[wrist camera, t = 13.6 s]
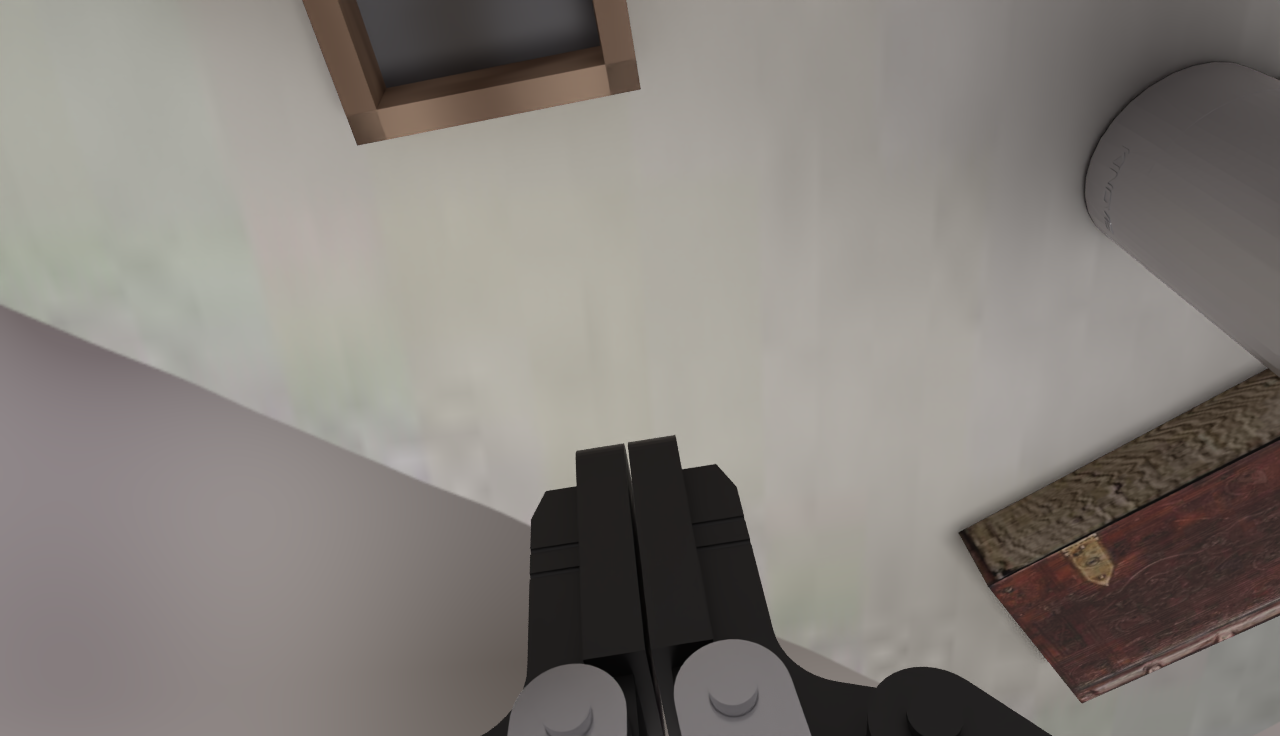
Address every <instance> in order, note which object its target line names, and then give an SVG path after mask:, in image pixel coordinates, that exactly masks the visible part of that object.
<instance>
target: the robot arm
mask: <svg viewBox="0 0 1280 736" xmlns="http://www.w3.org/2000/svg"><path fill="white" fill-rule="evenodd" d="M1085 199H1086V204H1087V208H1088V212H1089V214H1090V216H1091V218H1092V220H1093V222H1094V224H1095V225H1096V226H1097V227H1098V228H1099V229H1100V230H1101V231H1102V232H1103V233H1104V234H1105V235H1106V236H1108V237H1109V238H1110V239H1111V240H1113V241H1114V242H1115V243H1116V244H1117V245H1119V246H1120V247H1121V248H1122V249H1124V250H1125V251H1126V252H1127V253H1128V254H1130V255H1131V256H1132V257H1133V258H1135V259H1136V260H1137V261H1138V262H1139V263H1141V264H1142V265H1143V266H1144V267H1145V268H1146V269H1148V270H1149V271H1150V272H1151V273H1152V274H1154V275H1155V276H1156V277H1157V278H1158V279H1160V280H1161V281H1162V282H1163V283H1165V284H1166V285H1167V286H1168V287H1169V288H1171V289H1172V290H1173V291H1174V292H1176V293H1177V294H1178V295H1179V296H1181V297H1182V298H1183V299H1184V300H1185V301H1187V302H1188V303H1189V304H1190V305H1192V306H1193V307H1194V308H1195V309H1196V310H1198V311H1199V312H1200V313H1201V314H1203V315H1204V316H1205V317H1206V318H1207V319H1209V320H1210V321H1211V322H1212V323H1214V324H1215V325H1216V326H1217V327H1219V328H1220V329H1221V330H1222V331H1223V332H1225V333H1226V334H1227V335H1228V336H1230V337H1231V338H1232V339H1233V340H1234V341H1236V342H1237V343H1238V344H1239V345H1241V346H1242V347H1243V348H1244V349H1245V350H1247V351H1248V352H1249V353H1250V354H1252V355H1253V356H1254V357H1255V358H1257V359H1258V360H1259V361H1260V362H1261V363H1263V364H1264V365H1265V366H1266V367H1268V368H1269V369H1270V370H1271V371H1272V372H1274V373H1275V374H1276V375H1277V376H1279V377H1280V80H1278V79H1275V78H1273V77H1271V76H1268V75H1266V74H1263V73H1261V72H1259V71H1256V70H1254V69H1252V68H1249V67H1246V66H1242V65H1239V64H1236V63H1227V62H1212V63H1206V64H1201V65H1195V66H1191V67H1189V68H1186V69H1184V70H1181V71H1178V72H1176V73H1173V74H1171V75H1169V76H1167V77H1166V78H1164V79H1162V80H1160V81H1159V82H1157V83H1155V84H1154V85H1152V86H1150V87H1149V88H1148V89H1146V90H1145V91H1144V92H1143V93H1141V94H1140V95H1139V96H1138V97H1136V98H1135V99H1134V100H1133V101H1131V102H1130V103H1129V104H1128V105H1127V106H1126V107H1125V109H1124V110H1123V111H1122V112H1121V113H1120V114H1119V115H1118V116H1117V117H1116V118H1115V119H1114V120H1113V122H1112V123H1111V125H1110V126H1109V128H1108V129H1107V131H1106V132H1105V133H1104V135H1103V136H1102V138H1101V139H1100V141H1099V143H1098V145H1097V148H1096V150H1095V152H1094V154H1093V156H1092V158H1091V161H1090V165H1089V168H1088V172H1087V176H1086V185H1085ZM628 450H629V459H630V468H631V475H630V470H629V465H628V459H627V454H626V449H625V445H624V443H623V444H617V445H611V446H604V447H598V448H592V449H586V450H579V451H576V481H577V486H576V487H569V488H563V489H557V490H550V491H546V492H545V494H544V496H543V498H542V500H541V502H540V503H539V505H538V507H537V509H536V511H535V513H534V515H533V517H532V519H531V547H530V549H531V555H530V578H531V580H530V585H529V626H528V627H529V628H528V665H527V677H526V682H525V685H524V688H523V691H522V692H521V693H520V695H519V696H518V698H517V700H516V702H515V703H514V706H513V709H512V710H511V711H510V712H509V714H508V715H507V716H506V717H505V718H504V719H503V720H502V721H501V722H500V723H499V724H498V725H497V726H495V727H494V728H492V729H491V730H490V731H489V732H487V733H485V734H483V735H482V736H665V727H664V719H663V711H662V705H663V710H664V714H665V719H666V724H667V729H668V734H669V736H1052V735H1050V734H1049V733H1047V732H1046V731H1044V730H1042V729H1041V728H1039V727H1038V726H1036V725H1035V724H1033V723H1032V722H1030V721H1029V720H1027V719H1026V718H1024V717H1023V716H1021V715H1019V714H1018V713H1016V712H1015V711H1013V710H1012V709H1010V708H1009V707H1007V706H1006V705H1004V704H1003V703H1001V702H999V701H998V700H996V699H995V698H993V697H992V696H990V695H989V694H987V693H986V692H984V691H983V690H981V689H979V688H978V687H976V686H975V685H973V684H972V683H970V682H969V681H967V680H965V679H964V678H962V677H960V676H958V675H956V674H954V673H951V672H948V671H946V670H942V669H938V668H931V667H913V668H908V669H903V670H901V671H898V672H895V673H893V674H892V675H890V676H888V677H887V678H885V679H884V680H883V681H882V682H881V683H880V684H879V685H878V686H877V688H874V687H868V686H862V685H855V684H849V683H842V682H836V681H832V680H827V679H824V678H821V677H818V676H816V675H813V674H812V673H809V672H807V671H806V670H804V669H803V668H801V667H800V666H799V665H797V664H796V663H795V662H793V661H792V660H791V659H790V658H789V657H788V656H787V655H786V653H785V652H784V651H783V650H782V648H781V647H780V645H779V643H778V641H777V639H776V637H775V634H774V631H773V627H772V624H771V620H770V616H769V612H768V608H767V604H766V600H765V596H764V592H763V588H762V584H761V580H760V577H759V573H758V569H757V565H756V561H755V557H754V553H753V549H752V545H751V543H750V537H749V534H748V530H747V526H746V522H745V520H744V514H743V510H742V506H741V502H740V498H739V494H738V491H737V487H736V486H735V485H734V483H733V482H732V481H731V480H730V479H729V478H728V477H727V476H726V475H725V473H724V472H723V471H722V470H721V469H720V468H719V467H718V466H717V465H716V464H714V465H707V466H701V467H695V468H688V469H682V468H681V463H680V457H679V452H678V446H677V441H676V436H675V435H673V436H666V437H660V438H654V439H647V440H641V441H635V442H628ZM631 477H632V480H631ZM661 700H662V702H661Z"/></svg>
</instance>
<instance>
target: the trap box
mask: <svg viewBox="0 0 1280 736" xmlns="http://www.w3.org/2000/svg"><path fill="white" fill-rule="evenodd" d="M302 1H303V3H304V6H305V9H306V11H307V14H308V16H309V19H310V22H311V24H312V27H313V30H314V32H315V35H316V38H317V40H318V43H319V45H320V48H321V51H322V53H323V56H324V59H325V61H326V64H327V67H328V69H329V72H330V75H331V77H332V80H333V82H334V85H335V88H336V90H337V93H338V96H339V98H340V101H341V104H342V106H343V109H344V112H345V114H346V117H347V119H348V122H349V125H350V127H351V130H352V133H353V135H354V138H355V141H356V143H357V145H362V144H367V143H372V142H377V141H382V140H387V139H392V138H397V137H402V136H407V135H412V134H417V133H422V132H428V131H433V130H438V129H443V128H448V127H453V126H458V125H463V124H468V123H473V122H478V121H483V120H488V119H493V118H498V117H503V116H508V115H513V114H518V113H523V112H528V111H533V110H538V109H544V108H549V107H554V106H559V105H564V104H569V103H574V102H579V101H584V100H589V99H594V98H599V97H604V96H609V95H614V94H619V93H624V92H629V91H634V90H639V89H641V88H640V82H639V76H638V70H637V64H636V58H635V51H634V45H633V39H632V33H631V27H630V21H629V15H628V8H627V2H626V0H302Z"/></svg>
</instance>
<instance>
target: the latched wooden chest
mask: <svg viewBox="0 0 1280 736" xmlns="http://www.w3.org/2000/svg"><path fill="white" fill-rule="evenodd" d="M959 534H960V536H961V538H962V540H963V542H964V543H965V545H966V547H967V549H968V551H969V552H970V554H971V556H972V558H973V560H974V562H975V563H976V565H977V567H978V569H979V571H980V572H981V574H982V576H983V578H984V580H985V581H986V583H987V585H988V587H989V588H990V589H991V591H992V592H993V593H994V594H995V596H996V597H997V598H998V599H999V601H1000V602H1001V603H1002V604H1003V606H1004V607H1005V608H1006V609H1007V611H1008V612H1009V613H1010V614H1011V616H1012V617H1013V618H1014V619H1015V621H1016V622H1017V623H1018V624H1019V626H1020V627H1021V628H1022V629H1023V631H1024V632H1025V633H1026V634H1027V636H1028V637H1029V638H1030V639H1031V641H1032V642H1033V643H1034V644H1035V646H1036V647H1037V648H1038V649H1039V651H1040V652H1041V653H1042V654H1043V656H1044V657H1045V658H1046V659H1047V661H1048V662H1049V663H1050V664H1051V666H1052V667H1053V668H1054V669H1055V671H1056V672H1057V673H1058V674H1059V676H1060V677H1061V678H1062V679H1063V681H1064V682H1065V683H1066V684H1067V686H1068V687H1069V688H1070V689H1071V691H1072V692H1073V693H1074V694H1075V696H1076V697H1077V698H1078V699H1079V701H1080V702H1081V703H1084V702H1086V701H1088V700H1091V699H1093V698H1095V697H1097V696H1100V695H1102V694H1104V693H1106V692H1109V691H1111V690H1113V689H1115V688H1118V687H1120V686H1122V685H1124V684H1127V683H1129V682H1131V681H1133V680H1136V679H1138V678H1140V677H1142V676H1145V675H1147V674H1149V673H1151V672H1154V671H1156V670H1158V669H1161V668H1163V667H1165V666H1167V665H1170V664H1172V663H1174V662H1176V661H1179V660H1181V659H1183V658H1185V657H1188V656H1190V655H1192V654H1194V653H1197V652H1199V651H1201V650H1203V649H1206V648H1208V647H1210V646H1212V645H1215V644H1217V643H1219V642H1221V641H1224V640H1226V639H1228V638H1230V637H1233V636H1235V635H1237V634H1239V633H1242V632H1244V631H1246V630H1248V629H1251V628H1253V627H1255V626H1257V625H1260V624H1262V623H1264V622H1266V621H1269V620H1271V619H1273V618H1275V617H1278V616H1280V377H1279V376H1277V375H1276V374H1275V373H1274V372H1272V371H1271V370H1270V369H1269V368H1268V369H1266V370H1264V371H1263V372H1261V373H1259V374H1257V375H1255V376H1253V377H1251V378H1249V379H1247V380H1246V381H1244V382H1242V383H1240V384H1238V385H1236V386H1234V387H1232V388H1230V389H1229V390H1227V391H1225V392H1223V393H1221V394H1219V395H1217V396H1215V397H1214V398H1212V399H1210V400H1208V401H1206V402H1204V403H1202V404H1200V405H1198V406H1197V407H1195V408H1193V409H1191V410H1189V411H1187V412H1185V413H1183V414H1181V415H1180V416H1178V417H1176V418H1174V419H1172V420H1170V421H1168V422H1166V423H1164V424H1163V425H1161V426H1159V427H1157V428H1155V429H1153V430H1151V431H1149V432H1147V433H1146V434H1144V435H1142V436H1140V437H1138V438H1136V439H1134V440H1132V441H1130V442H1129V443H1127V444H1125V445H1123V446H1121V447H1119V448H1117V449H1115V450H1114V451H1112V452H1110V453H1108V454H1106V455H1104V456H1102V457H1100V458H1098V459H1097V460H1095V461H1093V462H1091V463H1089V464H1087V465H1085V466H1083V467H1081V468H1080V469H1078V470H1076V471H1074V472H1072V473H1070V474H1068V475H1066V476H1064V477H1063V478H1061V479H1059V480H1057V481H1055V482H1053V483H1051V484H1049V485H1047V486H1046V487H1044V488H1042V489H1040V490H1038V491H1036V492H1034V493H1032V494H1031V495H1029V496H1027V497H1025V498H1023V499H1021V500H1019V501H1017V502H1015V503H1014V504H1012V505H1010V506H1008V507H1006V508H1004V509H1002V510H1000V511H998V512H997V513H995V514H993V515H991V516H989V517H987V518H985V519H983V520H981V521H980V522H978V523H976V524H974V525H972V526H970V527H968V528H966V529H964V530H963V531H961V532H959Z"/></svg>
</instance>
